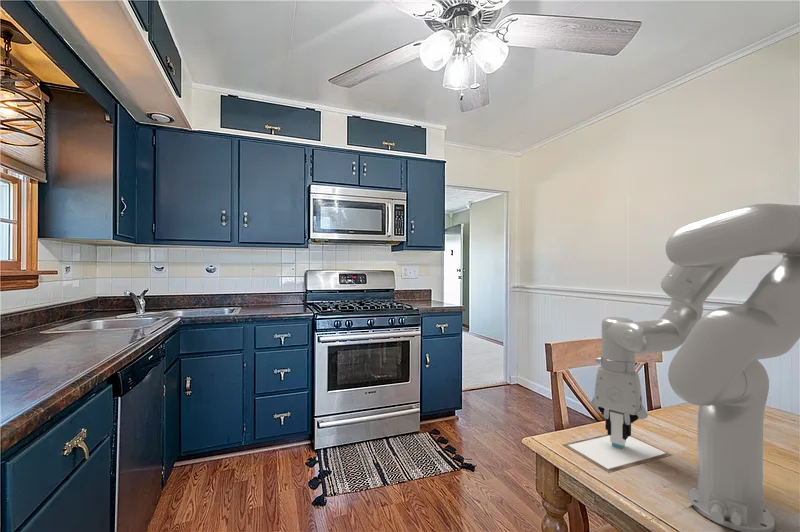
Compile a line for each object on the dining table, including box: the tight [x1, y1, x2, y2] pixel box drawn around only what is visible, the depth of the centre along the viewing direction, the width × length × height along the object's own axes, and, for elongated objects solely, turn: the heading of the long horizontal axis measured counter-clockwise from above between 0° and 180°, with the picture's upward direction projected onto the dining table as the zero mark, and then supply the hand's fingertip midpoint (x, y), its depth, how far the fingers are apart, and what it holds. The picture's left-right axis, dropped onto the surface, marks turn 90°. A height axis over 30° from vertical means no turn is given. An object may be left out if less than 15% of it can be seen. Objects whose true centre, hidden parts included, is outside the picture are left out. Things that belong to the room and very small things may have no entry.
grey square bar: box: [610, 410, 626, 449], centre depth 95 cm, size 3×3×11 cm
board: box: [562, 433, 673, 474], centre depth 94 cm, size 22×14×1 cm, turn 111°
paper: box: [568, 435, 666, 470], centre depth 94 cm, size 20×12×1 cm, turn 111°
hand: (618, 435), depth 95 cm, fingers closed on grey square bar, 2 cm apart
